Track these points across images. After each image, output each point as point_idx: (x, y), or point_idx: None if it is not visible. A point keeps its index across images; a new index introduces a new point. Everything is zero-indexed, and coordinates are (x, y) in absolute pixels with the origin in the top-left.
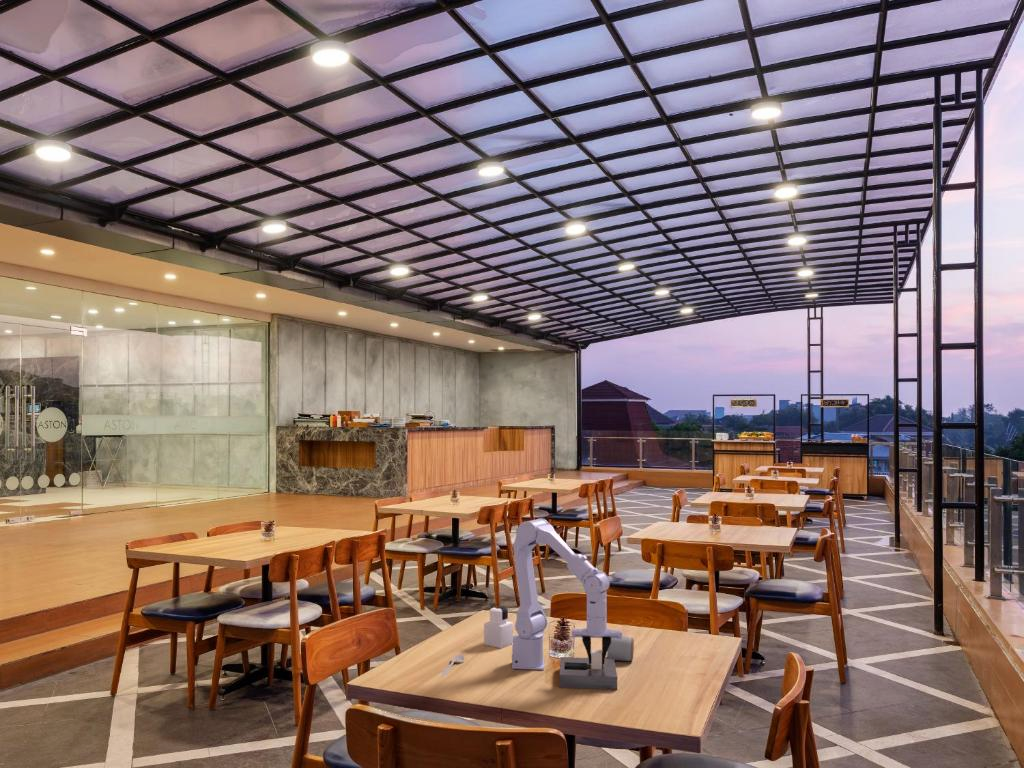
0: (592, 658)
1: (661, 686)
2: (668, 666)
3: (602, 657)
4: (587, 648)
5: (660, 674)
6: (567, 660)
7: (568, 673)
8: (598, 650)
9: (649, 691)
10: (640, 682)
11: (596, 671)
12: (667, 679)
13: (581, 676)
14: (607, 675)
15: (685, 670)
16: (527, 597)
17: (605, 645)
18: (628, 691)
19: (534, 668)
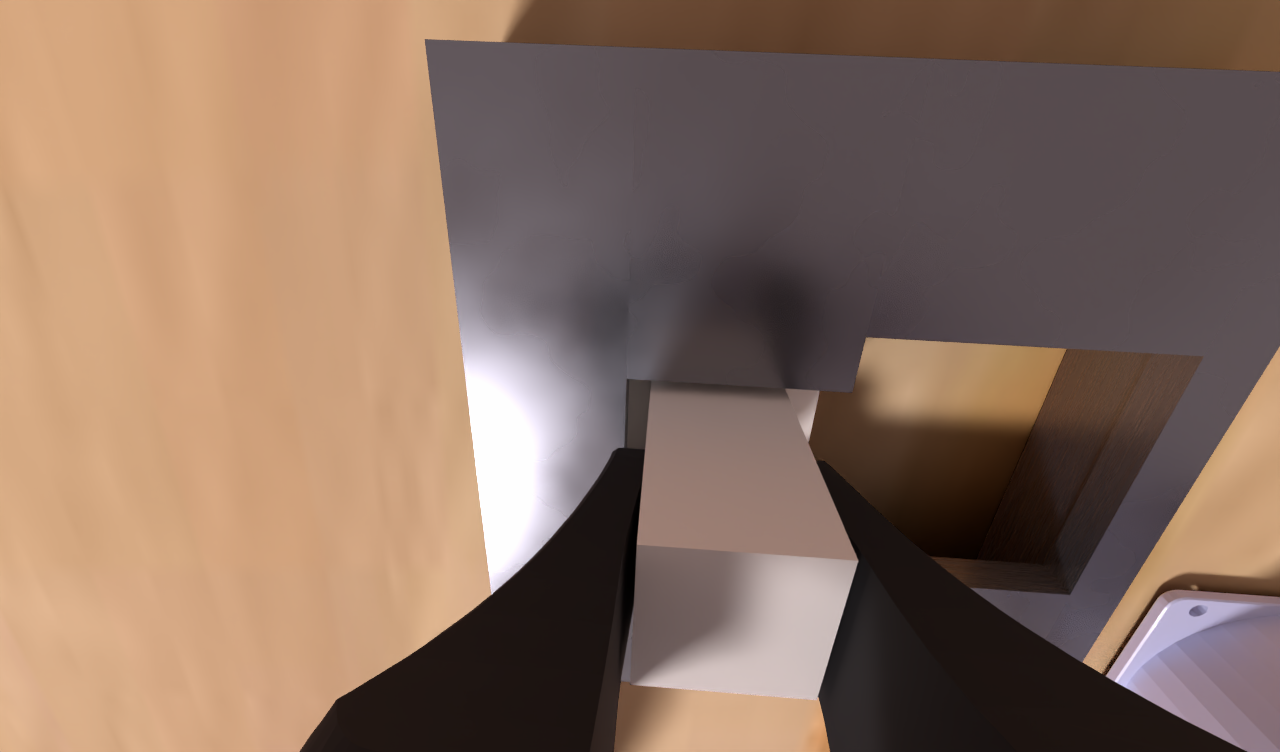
0: (806, 487)
1: (43, 221)
2: (146, 652)
3: (630, 498)
4: (1002, 639)
5: (153, 515)
6: None
7: (1231, 169)
8: (688, 666)
9: (112, 34)
10: (273, 326)
11: (738, 292)
12: (59, 411)
13: (1031, 65)
14: (585, 107)
15: (3, 589)
16: None
17: (514, 674)
18: (353, 10)
19: (1260, 601)
